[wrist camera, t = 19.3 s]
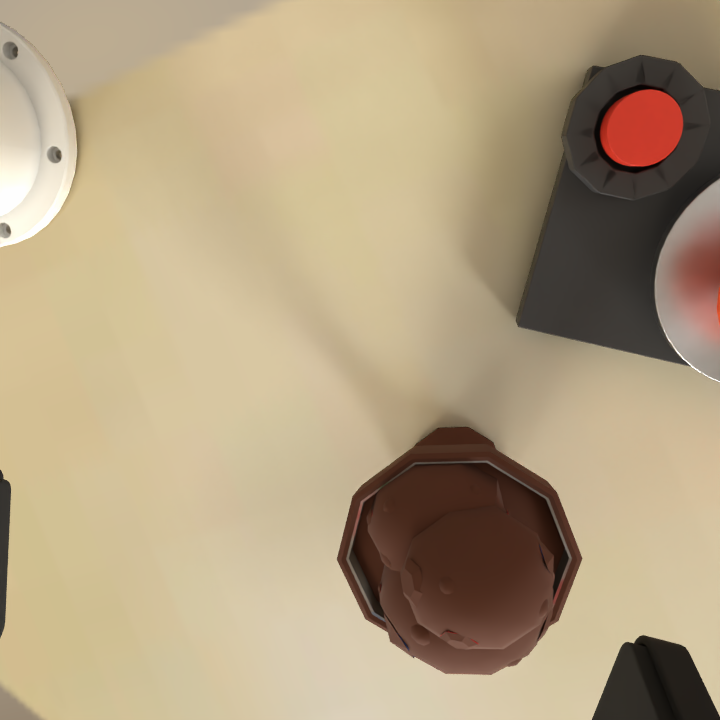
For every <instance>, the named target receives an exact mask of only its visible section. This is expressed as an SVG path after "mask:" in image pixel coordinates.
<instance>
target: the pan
mask: <svg viewBox="0 0 720 720" xmlns="http://www.w3.org/2000/svg"><path fill="white" fill-rule="evenodd" d="M719 287H720V174H719V175H718V176H716V177H715V178H713V179H712V180H710V181H709V182H707V183H706V184H705V185H703V186H702V187H701V188H700V189H699V190H697V191H696V192H695V193H694V194H693V195H692V196H691V197H690V198H689V199H688V200H687V201H686V202H685V203H684V204H683V205H682V206H681V207H680V209H679V210H678V211H677V213H676V214H675V216H674V217H673V218H672V220H671V221H670V223H669V224H668V226H667V228H666V230H665V232H664V233H663V235H662V237H661V240H660V242H659V245H658V247H657V249H656V253H655V257H654V260H653V264H652V271H651V279H650V295H651V301H652V308H653V312H654V315H655V318H656V321H657V324H658V326H659V328H660V330H661V332H662V334H663V336H664V337H665V339H666V340H667V342H668V343H669V345H670V346H671V347H672V349H673V350H674V351H675V352H676V353H677V354H678V355H679V356H680V357H681V358H682V359H683V360H684V361H686V362H687V363H688V364H689V365H690V366H692V367H693V368H694V369H695V370H697V371H698V372H700V373H702V374H703V375H705V376H707V377H708V378H711V379H713V380H715V381H717V382H720V325H719V320H718V314H717V300H718V292H719Z"/></svg>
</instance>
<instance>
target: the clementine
mask: <svg viewBox="0 0 720 720" xmlns="http://www.w3.org/2000/svg"><path fill="white" fill-rule="evenodd" d="M717 314H718V320H719V325H720V287H719V292H718V300H717Z"/></svg>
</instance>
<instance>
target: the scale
mask: <svg viewBox="0 0 720 720" xmlns="http://www.w3.org/2000/svg"><path fill="white" fill-rule="evenodd" d="M647 89H652V90H658V91H662V92H664V93H666V94H668V95H669V96H671V97H672V98H673V99H674V100H675V101H676V102H677V104H678V106H679V107H680V110H681V112H682V116H683V130H682V134H681V137H680V140H679V142H678V144H677V146H676V147H675V148H674V150H673V151H672V152H671V153H670V154H669V155H668V156H667V157H666V158H664V159H663V160H661V161H659V162H657V163H655V164H652V165H648V166H625V165H621V164H619V163H616V162H615V161H613V160H612V159H611V158H610V157H609V156H608V155H607V154H606V153H605V151H604V149H603V147H602V144H601V141H600V127H601V123H602V120H603V118H604V116H605V114H606V112H607V111H608V109H609V108H610V107H611V106H612V105H613V104H614V103H615V102H616V101H618V100H619V99H621V98H622V97H624V96H627V95H629V94H632V93H634V92H637V91H641V90H647ZM561 138H562V142H563V146H564V153H563V157H562V160H561V164H560V167H559V171H558V174H557V178H556V181H555V185H554V188H553V192H552V195H551V199H550V202H549V206H548V209H547V213H546V216H545V220H544V223H543V227H542V230H541V234H540V237H539V241H538V244H537V248H536V251H535V255H534V258H533V262H532V265H531V269H530V272H529V276H528V279H527V283H526V286H525V290H524V293H523V297H522V300H521V304H520V307H519V311H518V314H517V318H516V323H517V325H518V327H521V328H525V329H529V330H534V331H538V332H542V333H547V334H551V335H555V336H560V337H564V338H569V339H573V340H577V341H582V342H586V343H590V344H595V345H599V346H603V347H608V348H612V349H616V350H621V351H625V352H629V353H634V354H638V355H642V356H647V357H651V358H655V359H660V360H664V361H668V362H673V363H677V364H681V365H686V366H690V365H689V364H688V363H687V362H686V361H684V360H683V359H682V358H681V357H680V356H679V355H678V354H677V353H676V352H675V351H674V350H673V349H672V347H671V346H670V345H669V343H668V342H667V340H666V339H665V337H664V336H663V334H662V332H661V330H660V328H659V326H658V324H657V321H656V318H655V315H654V312H653V308H652V301H651V295H650V279H651V271H652V264H653V260H654V257H655V253H656V249H657V247H658V245H659V242H660V240H661V237H662V235H663V233H664V232H665V230H666V228H667V226H668V224H669V223H670V221H671V220H672V218H673V217H674V216H675V214H676V213H677V211H678V210H679V209H680V207H681V206H682V205H683V204H684V203H685V202H686V201H687V200H688V199H689V198H690V197H691V196H692V195H693V194H694V193H695V192H696V191H697V190H699V189H700V188H701V187H702V186H703V185H705V184H706V183H707V182H709V181H710V180H712V179H713V178H715V177H716V176H718V175H719V174H720V91H718V90H713V89H708V88H703V87H702V86H701V85H700V84H699V83H698V82H697V81H696V80H695V79H694V78H693V76H692V75H691V74H690V73H689V72H688V71H687V70H686V69H685V68H684V67H683V66H682V65H681V64H680V63H678V62H675V61H670V60H665V59H660V58H655V57H650V56H645V55H639V56H636V57H633V58H631V59H628V60H625V61H622V62H619V63H616V64H614V65H611V66H608V67H605V68H604V67H599V66H592V67H591V68H589V69H588V70H587V73H586V76H585V80H584V83H583V87H582V89H581V90H580V91H579V92H578V93H577V94H576V95H575V97H574V98H573V99H572V101H571V102H570V106H569V109H568V113H567V117H566V120H565V124H564V127H563V131H562V136H561ZM690 367H692V366H690Z"/></svg>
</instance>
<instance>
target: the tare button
mask: <svg viewBox="0 0 720 720" xmlns="http://www.w3.org/2000/svg"><path fill="white" fill-rule="evenodd" d="M682 130H683V116H682V112H681V110H680V107H679V106H678V104H677V102H676V101H675V100H674V99H673V98H672V97H671V96H669V95H668V94H666V93H664V92H662V91H658V90H652V89H647V90H641V91H637V92H634V93H632V94H629V95H627V96H624V97H622V98H621V99H619V100H618V101H616V102H615V103H614V104H613V105H612V106H611V107H610V108H609V109H608V111H607V112H606V114H605V116H604V118H603V120H602V123H601V127H600V141H601V144H602V147H603V149H604V151H605V153H606V154H607V155H608V156H609V157H610V158H611V159H612V160H613V161H615V162H616V163H619V164H621V165H625V166H648V165H652V164H655V163H657V162H659V161H661V160H663V159H664V158H666V157H667V156H668V155H669V154H670V153H671V152H672V151H673V150H674V148H675V147H676V146H677V144H678V142H679V140H680V137H681V134H682Z"/></svg>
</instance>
